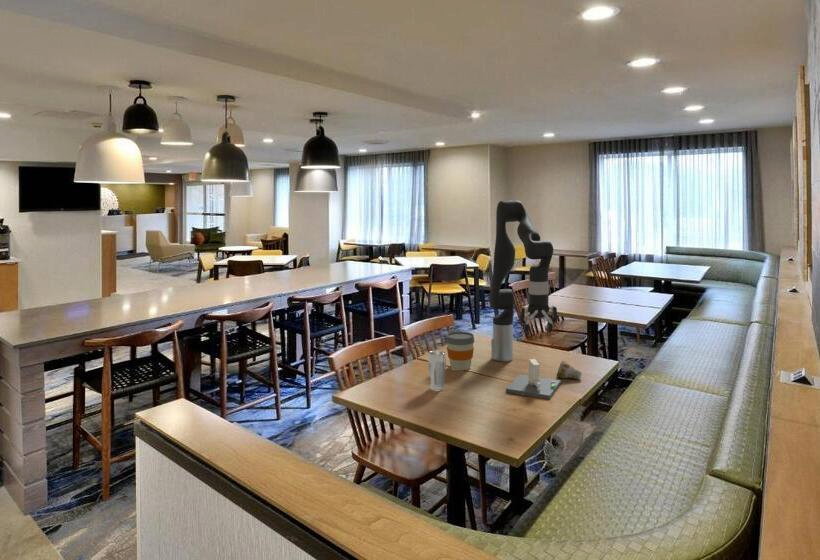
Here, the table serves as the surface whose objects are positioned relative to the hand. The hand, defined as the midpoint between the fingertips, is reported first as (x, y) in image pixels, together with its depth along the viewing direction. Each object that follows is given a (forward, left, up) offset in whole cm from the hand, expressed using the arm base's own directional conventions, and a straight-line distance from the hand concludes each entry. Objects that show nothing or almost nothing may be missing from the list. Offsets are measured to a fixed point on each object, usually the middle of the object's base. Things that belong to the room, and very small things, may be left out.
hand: (538, 332), depth 203 cm
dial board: (-1, -1, -23) cm, 23 cm away
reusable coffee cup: (-38, +10, -23) cm, 45 cm away
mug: (+9, +17, -23) cm, 30 cm away
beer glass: (-36, -18, -23) cm, 46 cm away
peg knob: (0, -3, -21) cm, 21 cm away
